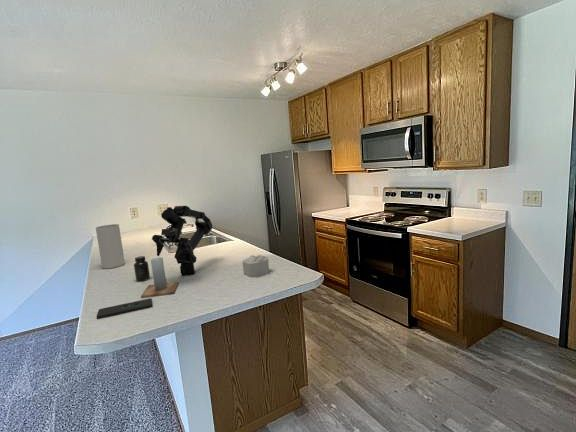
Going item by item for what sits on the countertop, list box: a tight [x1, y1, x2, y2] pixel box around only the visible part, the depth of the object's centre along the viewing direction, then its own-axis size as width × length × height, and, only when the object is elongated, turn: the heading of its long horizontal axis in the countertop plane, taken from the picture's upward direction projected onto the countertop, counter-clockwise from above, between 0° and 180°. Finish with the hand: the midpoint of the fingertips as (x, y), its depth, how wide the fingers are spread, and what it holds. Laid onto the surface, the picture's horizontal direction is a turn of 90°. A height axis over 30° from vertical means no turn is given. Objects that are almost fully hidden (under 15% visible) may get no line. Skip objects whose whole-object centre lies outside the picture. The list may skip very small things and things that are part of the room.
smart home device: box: [96, 297, 153, 320], centre depth 132 cm, size 8×2×20 cm
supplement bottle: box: [133, 255, 151, 282], centre depth 169 cm, size 7×7×12 cm
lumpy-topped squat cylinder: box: [242, 254, 270, 278], centre depth 166 cm, size 10×13×9 cm
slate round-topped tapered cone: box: [150, 257, 167, 290], centre depth 150 cm, size 5×5×14 cm
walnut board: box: [140, 281, 180, 299], centre depth 151 cm, size 14×14×1 cm
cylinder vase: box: [95, 223, 126, 270], centre depth 198 cm, size 12×12×25 cm
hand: (166, 257), depth 158 cm, fingers open, 9 cm apart
